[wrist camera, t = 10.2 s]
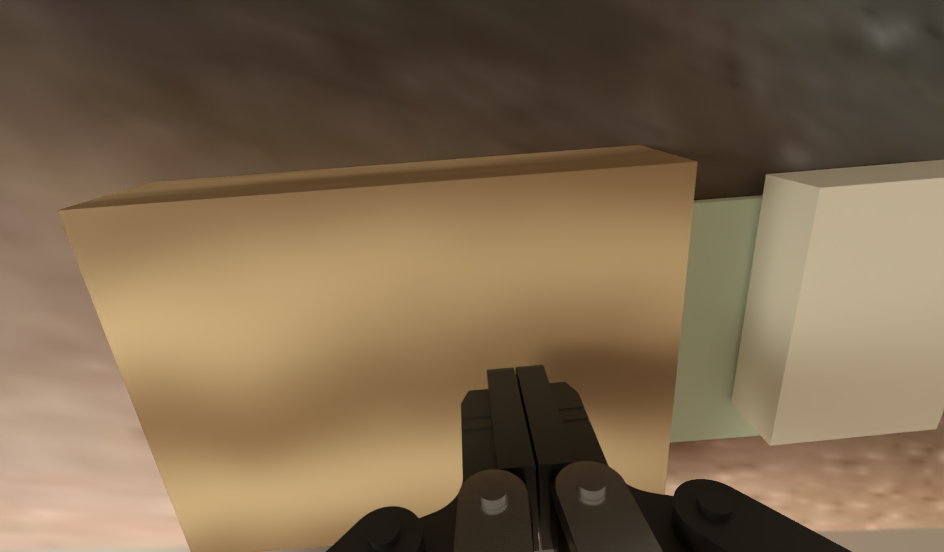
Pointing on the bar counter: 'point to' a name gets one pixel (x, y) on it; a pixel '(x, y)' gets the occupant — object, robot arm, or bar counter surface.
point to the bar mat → (714, 319)
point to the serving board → (382, 324)
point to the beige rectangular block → (845, 305)
